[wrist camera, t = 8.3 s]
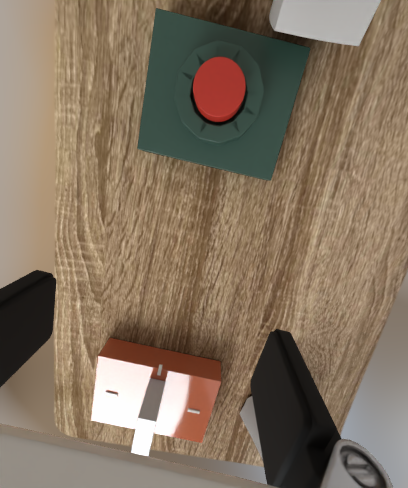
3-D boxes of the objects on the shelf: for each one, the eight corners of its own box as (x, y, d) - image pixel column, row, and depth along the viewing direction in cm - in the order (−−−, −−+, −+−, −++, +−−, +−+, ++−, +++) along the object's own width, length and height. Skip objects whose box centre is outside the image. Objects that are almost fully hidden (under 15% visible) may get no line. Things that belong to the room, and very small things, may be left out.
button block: (144, 151, 22) (129, 146, 18) (162, 25, 19) (149, -11, 16) (265, 180, 23) (276, 181, 19) (300, 60, 20) (321, 33, 16)
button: (190, 116, 18) (188, 110, 16) (200, 62, 17) (199, 50, 15) (235, 127, 18) (237, 122, 16) (248, 74, 17) (252, 63, 15)
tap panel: (101, 401, 32) (89, 425, 29) (110, 333, 28) (97, 352, 25) (202, 422, 32) (200, 448, 29) (221, 357, 29) (222, 378, 26)
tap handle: (150, 377, 26) (136, 420, 22) (165, 381, 26) (155, 424, 22) (141, 422, 28) (127, 469, 24) (155, 425, 28) (144, 473, 24)
